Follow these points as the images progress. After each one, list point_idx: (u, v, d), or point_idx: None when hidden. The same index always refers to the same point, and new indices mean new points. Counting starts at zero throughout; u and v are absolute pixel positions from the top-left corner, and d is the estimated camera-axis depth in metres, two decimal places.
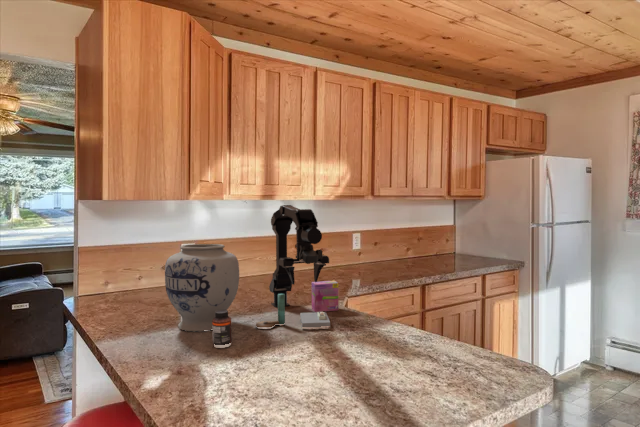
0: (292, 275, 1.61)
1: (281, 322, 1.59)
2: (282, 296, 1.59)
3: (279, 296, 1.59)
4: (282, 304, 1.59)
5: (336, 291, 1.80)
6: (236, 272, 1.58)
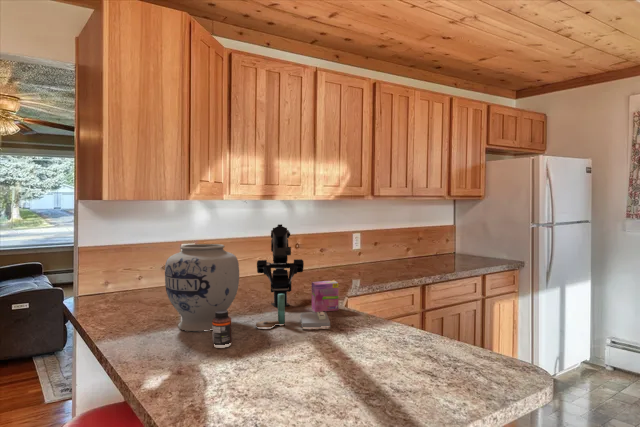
0: (270, 274, 1.71)
1: (281, 322, 1.59)
2: (282, 296, 1.59)
3: (279, 296, 1.59)
4: (282, 304, 1.59)
5: (336, 291, 1.80)
6: (236, 272, 1.58)
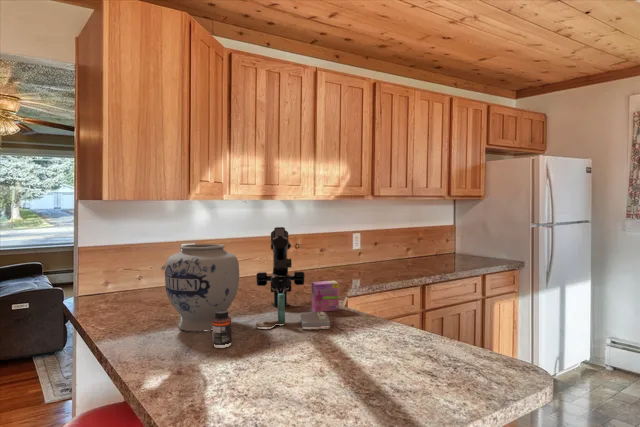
0: (278, 287, 1.67)
1: (281, 322, 1.59)
2: (282, 296, 1.59)
3: (279, 296, 1.59)
4: (282, 304, 1.59)
5: (336, 291, 1.80)
6: (236, 272, 1.58)
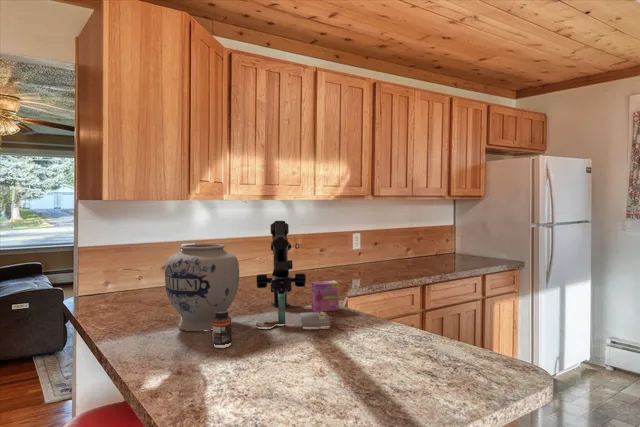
0: (278, 289, 1.62)
1: (281, 322, 1.58)
2: (282, 296, 1.58)
3: (279, 296, 1.58)
4: (282, 304, 1.58)
5: (336, 291, 1.80)
6: (236, 272, 1.58)
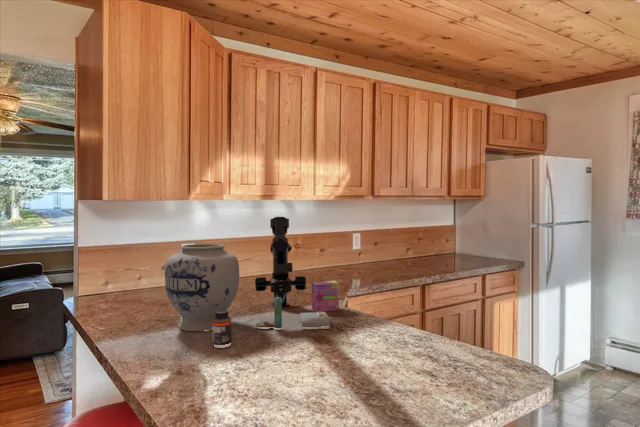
0: (278, 293, 1.57)
1: (275, 326, 1.54)
2: (276, 300, 1.53)
3: (274, 299, 1.54)
4: (276, 308, 1.53)
5: (336, 291, 1.80)
6: (236, 272, 1.58)
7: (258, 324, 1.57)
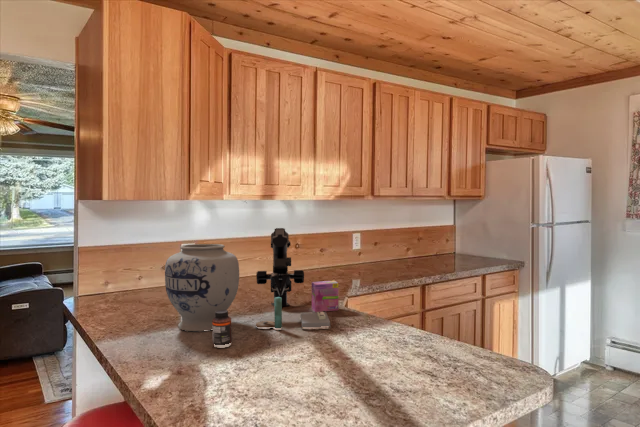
0: (278, 285, 1.68)
1: (275, 326, 1.54)
2: (276, 300, 1.53)
3: (274, 299, 1.54)
4: (276, 308, 1.53)
5: (336, 291, 1.80)
6: (236, 272, 1.58)
7: (258, 324, 1.57)
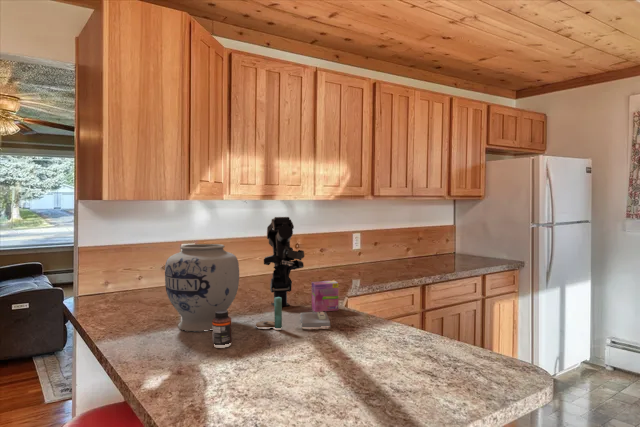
0: (285, 274, 1.73)
1: (275, 326, 1.54)
2: (276, 300, 1.53)
3: (274, 299, 1.54)
4: (276, 308, 1.53)
5: (336, 291, 1.80)
6: (236, 272, 1.58)
7: (258, 324, 1.57)
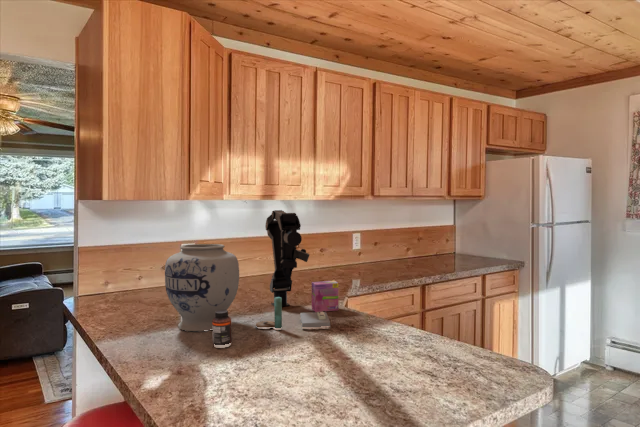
0: (291, 273, 1.74)
1: (275, 326, 1.54)
2: (276, 300, 1.53)
3: (274, 299, 1.54)
4: (276, 308, 1.53)
5: (336, 291, 1.80)
6: (236, 272, 1.58)
7: (258, 324, 1.57)
